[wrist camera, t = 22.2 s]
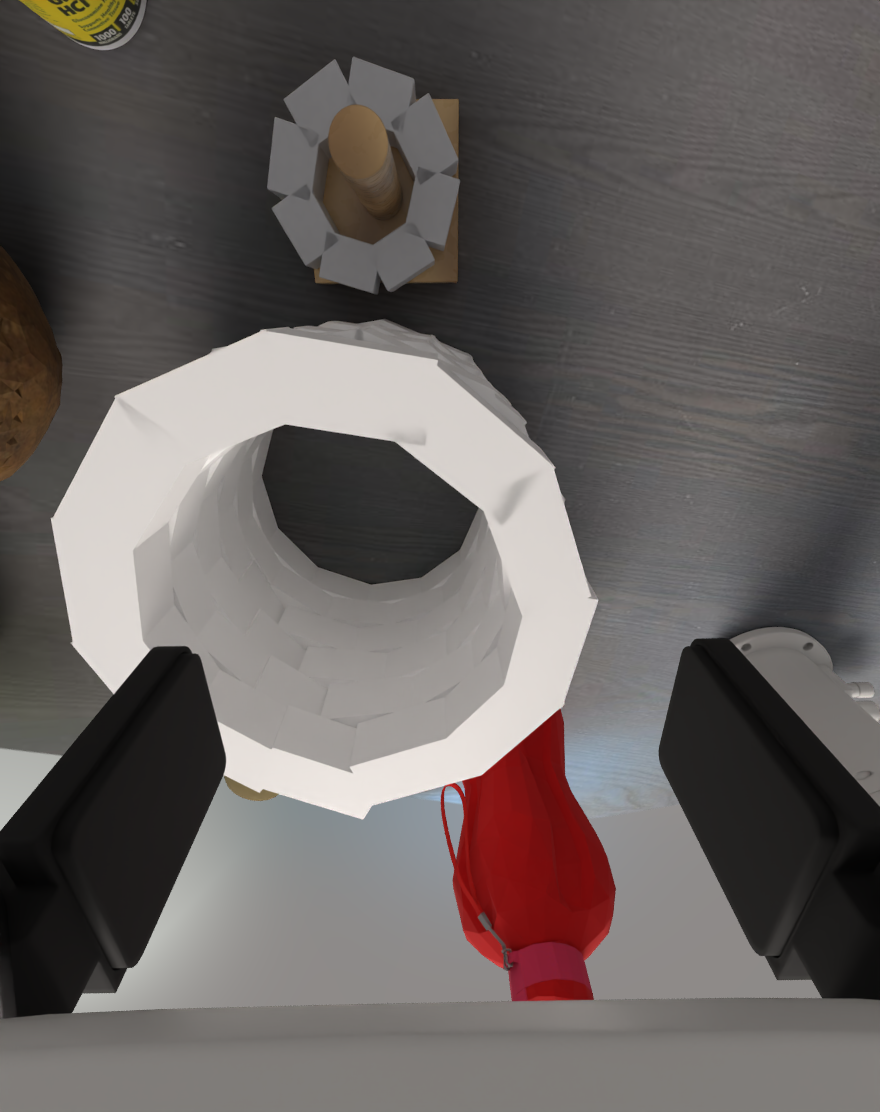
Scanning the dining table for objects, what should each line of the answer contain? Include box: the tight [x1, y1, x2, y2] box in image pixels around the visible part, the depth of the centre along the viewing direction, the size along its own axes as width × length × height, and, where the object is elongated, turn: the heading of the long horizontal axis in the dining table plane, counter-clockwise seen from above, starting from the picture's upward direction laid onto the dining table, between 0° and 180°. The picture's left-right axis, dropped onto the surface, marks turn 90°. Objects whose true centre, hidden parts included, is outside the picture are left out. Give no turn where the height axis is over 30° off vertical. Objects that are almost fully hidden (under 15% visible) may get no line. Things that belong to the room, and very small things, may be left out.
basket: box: [51, 319, 598, 819], centre depth 31 cm, size 25×24×19 cm
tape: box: [267, 57, 460, 294], centre depth 29 cm, size 10×10×3 cm
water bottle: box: [441, 709, 616, 1001], centre depth 37 cm, size 9×11×25 cm
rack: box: [314, 99, 459, 284], centre depth 26 cm, size 9×9×12 cm
